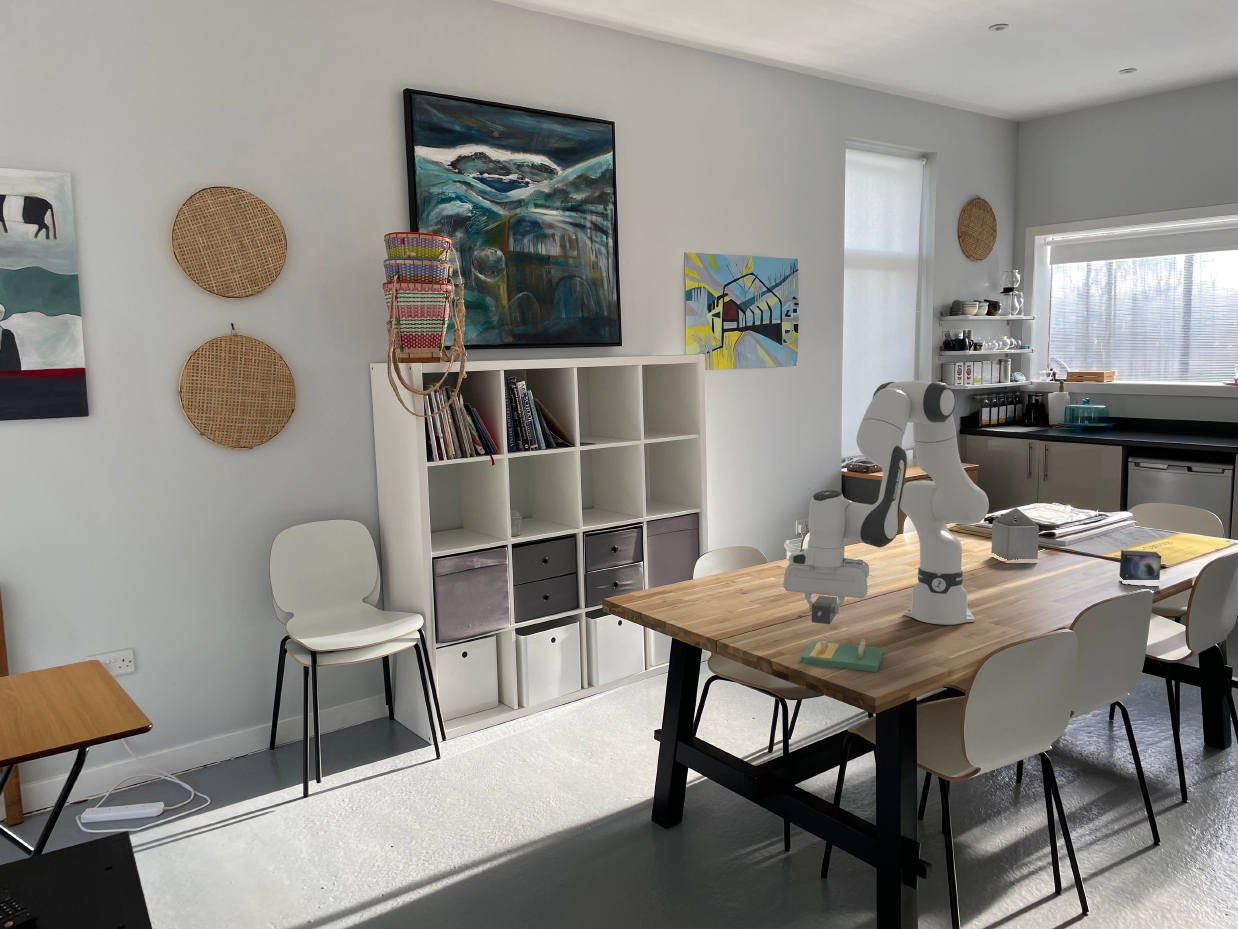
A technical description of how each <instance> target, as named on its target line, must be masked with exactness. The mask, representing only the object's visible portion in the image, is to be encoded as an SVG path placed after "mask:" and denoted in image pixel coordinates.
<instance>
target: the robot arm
mask: <svg viewBox="0 0 1238 929" xmlns="http://www.w3.org/2000/svg"><path fill="white" fill-rule="evenodd" d="M955 407H956V395H955V392H954V390H953V389H952V388H951V386H949V384H947V383H944V382H941V381H928V380H927V381H926V380H910V381H909V380H908V381H898V382H897V381H888V382H884V383H881V384H880V385H879V386H878V387H877V388H876V390H875V391H874V393H873V395H872V399H871V400H870V403H869V404H868V406H867V408H866V410H865V413H864V415H863V417H862V420H861V422H860V425H859V428H858V430H857V433H856V439H855V440H856V445H857V448H858V450H859V452H860V454H862V455H863V456H864V457H865V458H866V459H867V460H869V461H870V462H871V463H873V464H875V465H877V466H878V467H880V468H881V470H882V479H881V482H880V490H879V493H878V500H877V501H876V502H875V503H874V504H870V503H860V502H857V501H856V502H855V501H853V500H849V499H847V498H846V497H844V495H843V493H842V492H841V491H839V490H833V489H827V490H821V491H817V492H815V493H814V494H813V495H812V497H811V499H810V503H809V510H808V518H807V519H808V522H807V527H808V530H809V531H808V532H809V538H808V540H807V547H806V548H802V549H796V550H795V551H793V552H791V553H790V554H789V556H788V563H789V564H788V565H787V566H786V568H785V570H784V574H783V584H782V585H783V588H784V590H785V591H786V592H792V593H800V594H801V593H804V598H805V600H806V602H807V603H808V608H809V609H808V610H809V611H810V612H812V604H813V603H814V601H813V599H812V596H813V594H814V595H815V594H816V595H821V596H831V597H837V601H838V603H837V605H834V606H833V613H836V615H839V614H841V606H842V604H843V603H844V601H845V600H846V598H857V599H864V598H865V597H867V594H868V592H869V591H868V587H869V586H868V577H869V574H870V567H869V566H870V565H869V564H868V563H867V562H865V561H864V560H863V559H860V558H859V559H854V558H848V557H847V558H845V548H846V547H845V541H844V540H848V541H851V542H858V543H861V544H866V545H867V546H872V547H876V548H884V547H886V546H888V545H889V544H890V543H892V541H894V540H895V539H896V538H897V535H898V534H899V533H898V532H899V529H900V528H899V527H900V526H899V525H900V510H901V511H902V512H903V513H904V514H905V515H906V516H907V518H909V519H910V521H911V523H912V525H913V526H914V528H915V530H916V534H917V536H918V537H917V538H918V540H919V541H918V542H919V567H918V571H917V581H918V582H917V583H916V584H915V585H914V586H913V587H912V588H911V604H910V606H909V607H908V608H907V609H906V610H904V613H903V614H904V616H905V617H910V618H913V619H914V620H917V621H920V622H924V623H928V624H934V625H948V626H949V625H960V624H964V623H972V622H973V623H974V622H975V621H976V620H975V616H974V615H973V614H972V612H971V611H970V609H969V608H968V607H969V603H968V594H969V593H968V591H967V590H966V589H965V587H964V586H963V579H964V573H963V570H962V561H963V560H962V559H963V558H962V556H963V555H962V554H963V546H962V543H961V541H960V540H959V539H958V538H957V536H955V535H953V533H952V532H951V531H950V530H949V528H948V527H947V523H951V524H955V525H956V524H958V525H971V524H979V523H981V522H982V521H983V520H984V519H985V518H986V516H987V515H988V512H989V508H990V507H989V506H990V503H989V498H988V494H987V493H986V492H985V491H984V490H983V489H981V488H980V487H979V486H978V485H976V484H975V483H974V482H973V480H972V479H971V478H970V476H969V475H968V473H967V471H966V470H965V468H964V466H963V464H962V461H961V457H960V451H959V446H958V436H957V431H956V430H957V428H956V425H955V420H954V415H953V412H954V410H955ZM908 423H911V424H912V429H913V441H914V451H915V457H916V458H915V459H916V464H917V466H918V468H919V469H920V470H921V471H922V472H924V473H926V474H927V475H928V476H929V477H930V478H931V479H932V480H915V481H913V480H912V481H909V482H906V483H905V480H906V472H907V468H908V467H907V465H908V457H907V452H906V451H905V449H903V446H902V445H903V439H904V436H905V432H906V430H907V429H906V428H907V426H908Z"/></svg>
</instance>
